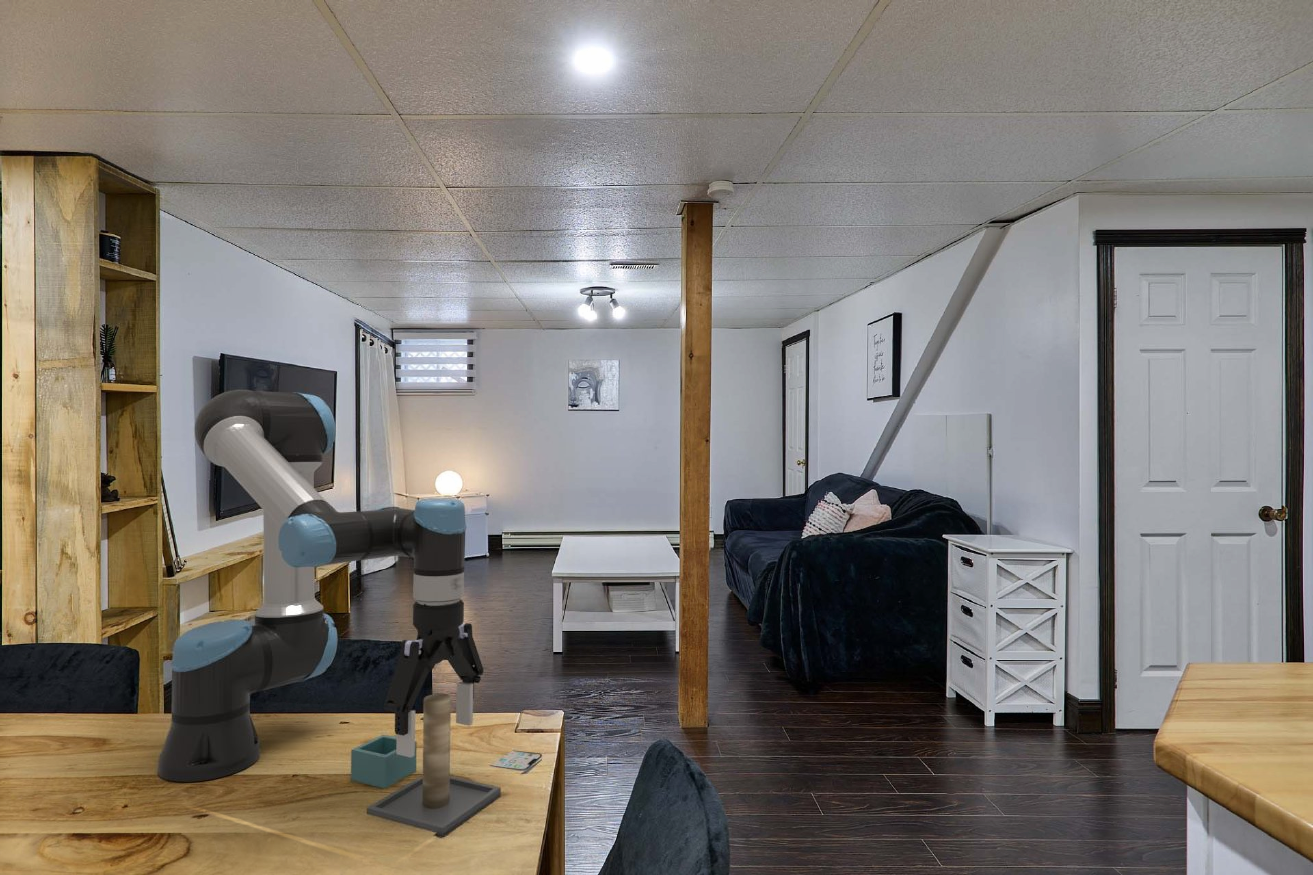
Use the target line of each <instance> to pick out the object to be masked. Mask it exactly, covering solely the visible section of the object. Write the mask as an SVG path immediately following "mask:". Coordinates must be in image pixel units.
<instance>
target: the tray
mask: <svg viewBox="0 0 1313 875" xmlns="http://www.w3.org/2000/svg"><path fill="white" fill-rule="evenodd" d="M501 790H502V789H501V786H496V785H492V784H487V783H483V782H479V781H474V780H470V779H466V778H463V777H462V778H461V777H457V776H454V775H450V801H449V803H448V804H447V805H446V806H444V807H441V808H436V809H430V808H426V807H424V806H423V805H422V798H423V774H422V775H421V776H419V777H417V778H416V779H414V780H412V781H411V782H409V783H406V784H405V785H404V786H402V787H400V788H399V789H397V790H395V791H394V792H391V793H390V794H388V795H386V796H385V797H383V798H381V799H380V800H378V801H376V802H374V803H372V804H371V805H369V806H367V807H366V814H367V815H370V816H373V817H374V816H375V817H379V818H382V819H385V820H389V821H393V822H396V823H400V824H405V825H408V826H412V827H415V828H418V829H419V828H420V829H423V830H426V831H430V832H434V833H433V835H432V836H434V837H438V838H442V839H443V838H445V837H446V836H448V835H449V834H450V833H452V832H453V831H454V830H456V829H457V828H458V827H459V828H460V826H461V825H463V824H464V823H465V822H467V821H468V820H470V819H472V817H474V816H476V815H477V814H478V813H479V812H481V811H482V810H483V809H485V808H486V807H489V805H491V804H492V803H493V802H495V801H496V800H498V799H499V798H501V795H502V794H501V793H502V792H501Z"/></svg>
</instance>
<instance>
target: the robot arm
mask: <svg viewBox="0 0 1313 875" xmlns="http://www.w3.org/2000/svg"><path fill="white" fill-rule="evenodd" d="M331 410H332V409H331V408H330V407H329V405H327V403H326V402H325V400H323V399H322V398H321V397H319V396H317V395H314V394H308V393H301V392H296V391H295V392H290V391H289V392H285V391H265V390H263V391H262V390H250V389H235V390H229V391H226V392H222V393H220V394H218V395H216V396H215V397H212V398H211V399H210V400H209V401H208V402H206V403H205V404H204V405H203V407H201V409H200V411H199V412H198V414H197V417H196V420H195V423H194V438H195V441H196V445H197V446H198V448H199V449H200V451H201V452H202V454H203V455H204V456H205V457H206V458H207V459H208V460H209V462H211V463H213V465H216V466H218V467H223V468H225V469H226V470H227V471H228V473H229V474H230V475H231V476H232V477H233V478H234V479H235V480H236V481H237V482H238V483H239V484H240V486H242V488H243V489H244V490H245V491H246V492H247V493H248V494H249V496H250V497H251V498H252V500H254V501H255V502H256V504H258V505H259V507H260V508H261V509H263V511H262V514H263V603H262V604H261V605H260V607H259V608H257V610H256V611H255V612H254V625H251V623H250V622H249V621H248V620H244V619H228V620H225V621H222V620H220V621H214V622H209V623H206V624H202V625H198V626H196V627H194V628H192V629H189V630H187V631H185V632H184V633H182V634H181V635H180V636H179V637H178V638H177V639H176V640H175V641H174V644H173V651H172V660H171V663H170V668H171V721H170V722H171V723H170V724H171V725H170V727H169V730H168V732H167V736H166V738H165V741H164V744H163V747H162V750H161V753H160V754H159V757H158V761H157V762H158V763H157V764H158V765H157V774H158V775H159V777H160V778H161V779H164V780H166V781H171V782H178V783H179V782H180V783H182V782H183V783H187V782H188V783H191V782H203V781H207V780H208V781H209V780H215V779H218V778H222V777H227V776H229V775H234V774H236V773H238V772H241V771H243V770H245V769H247V768H249V767H250V766H252V765H254V764H255V763H256V762H257V761H258V760H259V759H260V756H261V742H260V741H261V740H260V739H259V737H258V733H257V730H256V727H255V725H254V721H253V718H252V716H251V713H250V712H251V711H250V705H251V704H250V700H251V697H250V696H251V694H253V693H257V692H261V691H265V690H269V689H273V688H277V687H281V686H285V685H288V684H293V683H302V682H304V681H306V680H308V679H311V678H314V677H317V676H320V675H322V674H323V673H324V672H326V671H327V669H328V667H330V666H331V664H332V663H333V660H334V658H335V656H336V652H337V648H338V631H337V628H336V627H335V622H334V620H333V618H332V617H331V616H330V615H329V614H327V613H324V605H323V604H322V603H320V601H318V600H317V599H316V598H315V595H316V594H315V593H316V592H315V588H316V587H315V568H320V567H324V566H329V565H336V564H337V565H338V564H344V563H350V562H357V561H366V560H373V559H374V560H375V559H381V558H382V559H383V558H389V557H405V558H411V559H413V582H412V583H413V584H412V585H413V586H412V587H413V589H412V598H413V599H414V600H415V601H414V603H413V605H412V606H413V607H412V625H413V627H414V628H415V629H416V630H417V636H416V639H415V640H408V639H404V640H402V641H401V642H400V651H399V658H398V661H397V664H396V666H395V670H394V673H393V676H392V679H391V683H390V685H389V688H388V691H387V694H386V698H385V701H384V703H383V710H385V711H388V712H393V713H394V733H395V735H396V737H397V745H396V754H398V755H402V756H407V757H413V756H415V741H416V710H413V707H414V704H415V702H416V700H417V698H418V696H419V694H420V691H421V689H422V687H423V685H424V683H425V681H426V679H427V676H428V675H429V672H430V671H432V670H433V669H434V668H435V666H436V665H437V664H440V663H441V662H442V661H448V663H449V665H450V666H451V668H452V670H453V671H454V672H455V674H456V675H457V676H458V678H459V679H460V681H458V682H456V696H455V698H456V699H455V700H456V702H455V704H456V706H455V707H456V708H455V712H456V713H455V724H459V725H464V726H469V727H470V726H472V725H473V721H474V718H473V713H474V711H473V710H474V699H475V684H476V683H477V684H479V683H480V682H481V681H482V680H481V676H482V675H483V674H484V666H483V664H482V661H481V657H480V655H479V652H478V649H477V645H476V642H475V639H474V634H473V625H472V624H471V623H469V622H464V621H465V620H464V618H465V615H464V614H465V613H464V612H465V603H464V602H465V601H463V599H462V598H463V597H464V596H465V563H466V562H465V561H466V560H465V559H466V557H465V556H466V554H465V553H466V530H467V524H466V510H465V509H466V507H465V504H464V503H463V501H461V500H460V499H457V498H456V499H455V498H452V499H451V498H426V499H420V500H417V502H416V503H415V505H414V506H415V507H414V509H409V508H401V507H398V506H395V505H394V506H381V507H377V508H374V509H373V510H364V511H363V510H362V511H361V510H359V511H356V510H355V511H346V512H345V511H343V512H340V511H337V510H336V509H335V507H333V505H331V504H330V503H329V502H328V501H327V500H326V499H325V498H324V497H323V496H322V495H321V494H320V493H319V492H318V491H317V490H316V489H315V487H314V486H315V485H314V484H315V483H314V482H315V481H314V480H315V479H314V478H315V477H314V476H315V475H314V474H315V471H317V469H318V468H319V467H321V466H322V464H323V455H325V454H327V453H328V452H330V451H331V449H332V448H333V446H334V444H333V443H335V440H336V434H337V433H336V432H337V430H336V428H337V427H336V422H335V417H334V415H333V413H332V411H331Z"/></svg>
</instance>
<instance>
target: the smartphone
mask: <svg viewBox="0 0 1313 875" xmlns="http://www.w3.org/2000/svg"><path fill="white" fill-rule="evenodd" d="M542 757H543V754H542V753H540V752H539V753H538V752H531V751H523V750H522V751H521V750H514V749H513V750H512V751H510V752H509V753H507V754H505V755H504V756H502V757H500V759H498V760H496V761H495V762H493V763H492V764H490V765H489V767H494V768H500V769H506V770H512V771H520V772H522V773H520V775H526V774H528V773H529V772H530V771H532V770H533V769H534V768H535V767H536V766H537V765H538V764H539V763H541V762H542V759H541V758H542Z"/></svg>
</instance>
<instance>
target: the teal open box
mask: <svg viewBox="0 0 1313 875" xmlns="http://www.w3.org/2000/svg"><path fill="white" fill-rule="evenodd" d="M417 743H418V741H416V740H415V756H413V757H407V756H402V755H398V754H396V745H397V736H393V735H388V734H381V735H379V736H377V737H375V738H372V739H371V740H368V741H367V742H365V743H363V744H361V745H359V746H356V747H354V748H351V749H350V750H351V753H350V754H351V755H350V781H353V782H356V783H361V784H365V785H369V786H373V787H378V788H381V789H387V788H389V787H391V786H393V785H394V784H396V783H397V782H399V781H401V780H403V779H405V778H407V777H408V776H410V775H412V774H413V773H416V772H417V747H418V746H417Z"/></svg>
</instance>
